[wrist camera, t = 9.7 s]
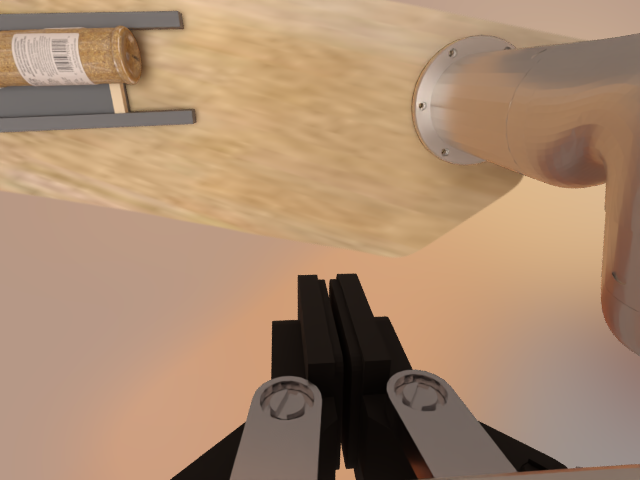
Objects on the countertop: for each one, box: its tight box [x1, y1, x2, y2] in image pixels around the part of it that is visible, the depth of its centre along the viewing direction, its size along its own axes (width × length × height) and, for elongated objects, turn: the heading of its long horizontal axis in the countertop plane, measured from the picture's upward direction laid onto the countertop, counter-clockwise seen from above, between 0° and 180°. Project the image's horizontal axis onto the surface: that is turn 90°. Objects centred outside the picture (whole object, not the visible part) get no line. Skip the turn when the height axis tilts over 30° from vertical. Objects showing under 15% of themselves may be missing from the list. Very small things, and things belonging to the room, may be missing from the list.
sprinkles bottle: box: [0, 26, 142, 89], centre depth 35 cm, size 5×5×13 cm
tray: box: [0, 11, 196, 132], centre depth 37 cm, size 22×9×3 cm, turn 92°
